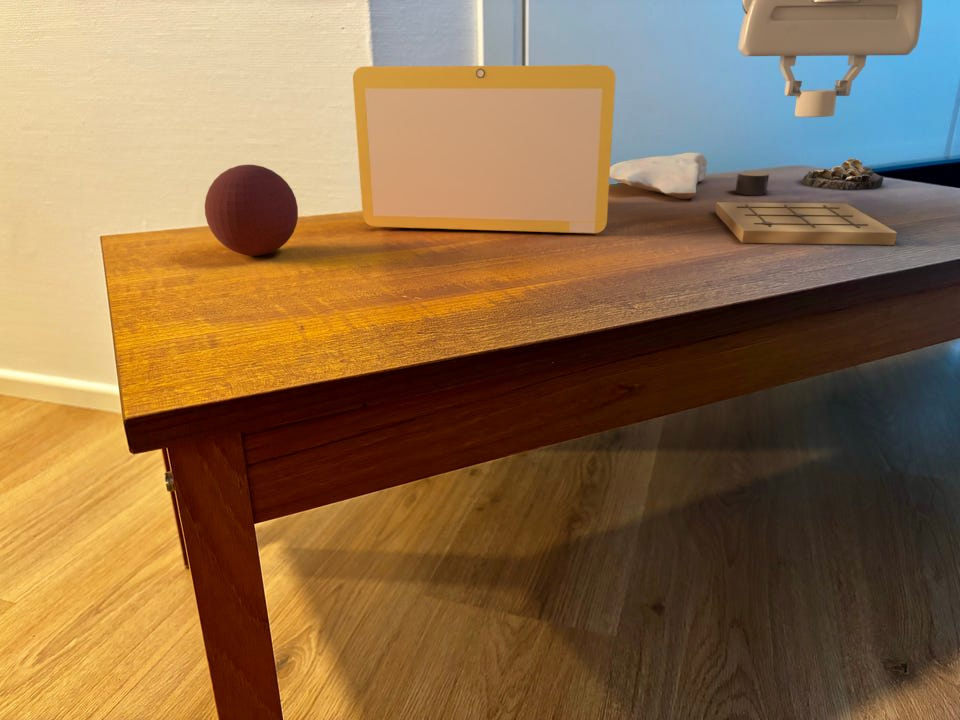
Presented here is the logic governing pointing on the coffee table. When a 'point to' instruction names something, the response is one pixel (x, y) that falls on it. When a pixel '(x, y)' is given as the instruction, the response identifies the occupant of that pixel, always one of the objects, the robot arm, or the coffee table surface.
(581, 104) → the tablet
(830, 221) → the game board
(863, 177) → the grey lumpy piece
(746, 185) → the black stone
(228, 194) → the decorative ball
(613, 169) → the decorative stone
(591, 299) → the coffee table surface
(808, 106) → the white stone
